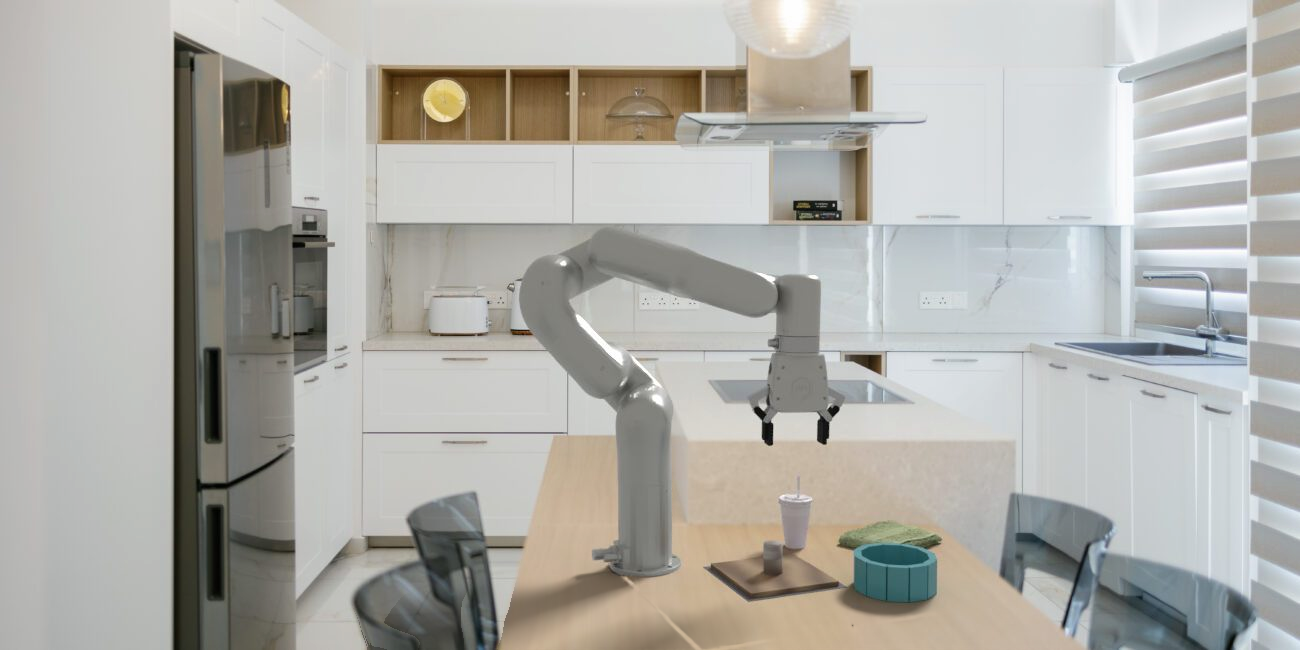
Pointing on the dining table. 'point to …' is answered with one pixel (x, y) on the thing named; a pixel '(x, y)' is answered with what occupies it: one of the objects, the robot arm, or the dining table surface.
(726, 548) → the dining table surface
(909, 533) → the washcloth
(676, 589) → the dining table surface
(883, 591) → the bowl
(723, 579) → the mat
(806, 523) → the smoothie
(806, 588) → the cover
